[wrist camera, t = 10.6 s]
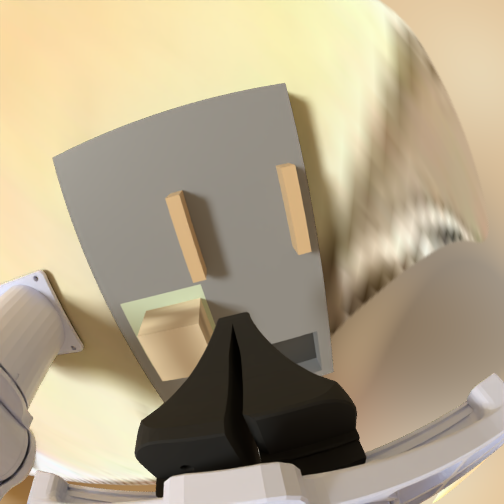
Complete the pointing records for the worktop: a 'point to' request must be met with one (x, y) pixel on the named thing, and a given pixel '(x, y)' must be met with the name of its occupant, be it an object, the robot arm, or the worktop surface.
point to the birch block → (175, 338)
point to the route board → (204, 222)
